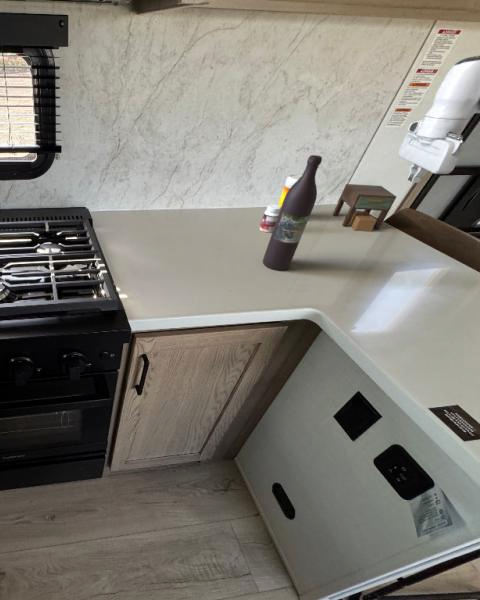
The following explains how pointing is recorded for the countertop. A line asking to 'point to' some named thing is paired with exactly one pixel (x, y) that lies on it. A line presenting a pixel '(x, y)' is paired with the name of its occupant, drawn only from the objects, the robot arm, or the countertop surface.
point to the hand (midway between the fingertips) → (412, 181)
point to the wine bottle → (293, 218)
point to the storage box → (362, 221)
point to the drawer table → (365, 201)
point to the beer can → (288, 186)
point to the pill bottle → (270, 218)
